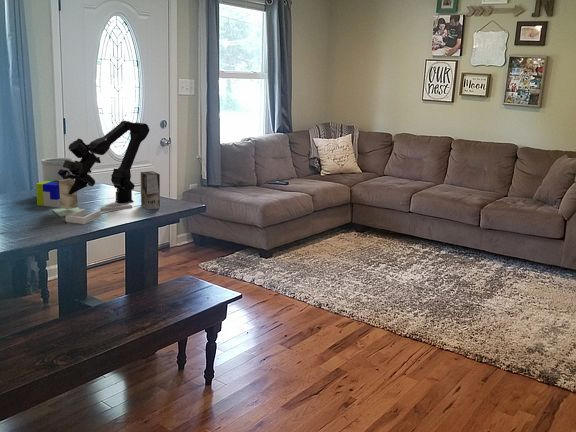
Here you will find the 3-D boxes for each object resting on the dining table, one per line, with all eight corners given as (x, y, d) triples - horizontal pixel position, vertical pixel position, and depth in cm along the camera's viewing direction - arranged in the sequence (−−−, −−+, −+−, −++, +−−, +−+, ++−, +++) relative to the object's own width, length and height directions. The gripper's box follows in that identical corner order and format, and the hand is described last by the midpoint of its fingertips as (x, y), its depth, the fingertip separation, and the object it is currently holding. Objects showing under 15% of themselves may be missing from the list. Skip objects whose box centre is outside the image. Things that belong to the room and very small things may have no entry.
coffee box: (160, 208, 273) (160, 174, 269) (146, 209, 270) (146, 174, 266) (154, 204, 281) (153, 170, 277) (140, 205, 277) (140, 171, 273)
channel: (83, 214, 257) (82, 209, 256) (100, 216, 255) (100, 210, 254) (65, 221, 244) (65, 216, 243) (84, 223, 242) (83, 218, 242)
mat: (77, 208, 267) (77, 206, 267) (86, 213, 259) (86, 212, 259) (52, 210, 261) (52, 209, 260) (60, 216, 252) (60, 215, 252)
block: (70, 205, 262) (68, 178, 259) (77, 207, 260) (76, 180, 257) (60, 207, 258) (59, 180, 255) (67, 209, 256) (66, 182, 253)
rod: (130, 208, 273) (130, 204, 273) (132, 208, 272) (132, 205, 272) (100, 211, 265) (100, 207, 265) (102, 212, 264) (102, 208, 263)
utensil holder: (39, 193, 292) (37, 158, 288) (70, 190, 301) (68, 156, 297) (48, 199, 281) (46, 162, 277) (80, 196, 290) (78, 160, 286)
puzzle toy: (57, 207, 268) (56, 185, 265) (37, 205, 270) (35, 183, 267) (69, 202, 277) (68, 181, 275) (50, 200, 279) (48, 179, 277)
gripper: (60, 150, 261) (39, 179, 255) (88, 155, 252) (67, 185, 245) (75, 166, 270) (56, 194, 264) (103, 171, 260) (84, 200, 254)
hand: (65, 193), depth 256 cm, fingers closed on block, 5 cm apart
